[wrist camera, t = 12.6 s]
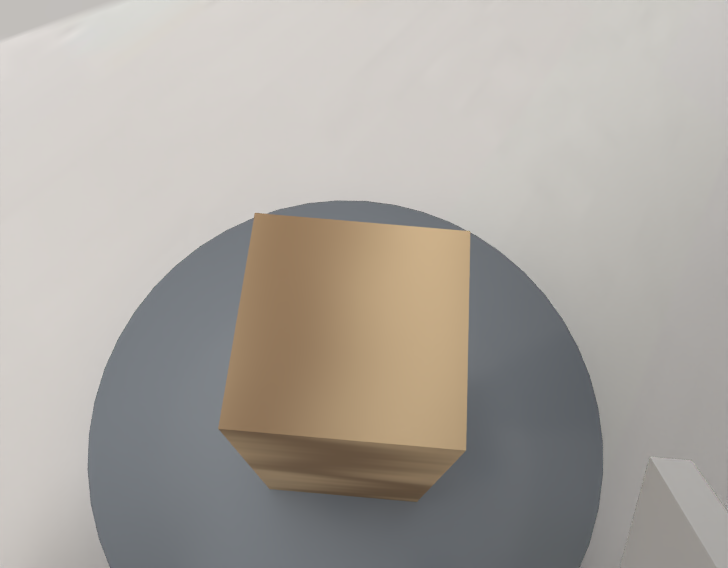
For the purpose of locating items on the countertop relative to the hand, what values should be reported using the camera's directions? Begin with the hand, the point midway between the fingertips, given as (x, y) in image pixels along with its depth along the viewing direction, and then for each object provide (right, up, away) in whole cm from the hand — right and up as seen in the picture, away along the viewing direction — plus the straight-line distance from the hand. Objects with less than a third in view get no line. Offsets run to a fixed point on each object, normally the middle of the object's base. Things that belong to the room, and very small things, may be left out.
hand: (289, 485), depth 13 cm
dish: (+1, -2, +12) cm, 13 cm away
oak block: (+1, -1, +11) cm, 11 cm away
